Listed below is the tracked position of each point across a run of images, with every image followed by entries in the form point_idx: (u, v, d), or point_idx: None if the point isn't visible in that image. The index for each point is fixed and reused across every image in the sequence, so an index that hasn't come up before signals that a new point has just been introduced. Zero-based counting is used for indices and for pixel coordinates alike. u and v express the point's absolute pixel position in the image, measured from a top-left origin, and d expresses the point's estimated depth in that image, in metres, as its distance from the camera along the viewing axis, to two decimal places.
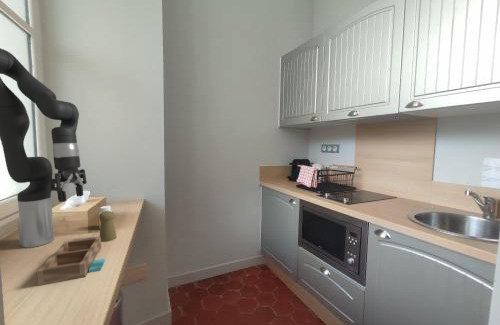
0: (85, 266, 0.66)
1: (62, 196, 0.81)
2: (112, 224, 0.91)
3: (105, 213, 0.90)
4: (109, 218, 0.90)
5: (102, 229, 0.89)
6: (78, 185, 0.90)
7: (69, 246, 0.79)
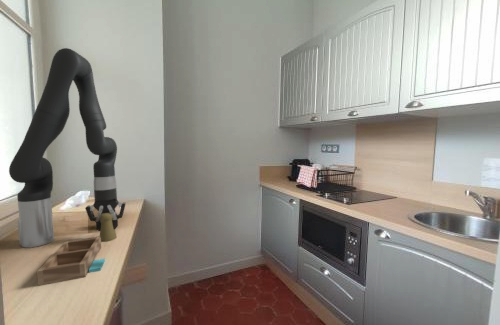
0: (85, 266, 0.66)
1: None
2: (112, 224, 0.91)
3: (105, 213, 0.90)
4: (109, 218, 0.90)
5: (102, 229, 0.89)
6: (99, 219, 0.90)
7: (69, 246, 0.79)
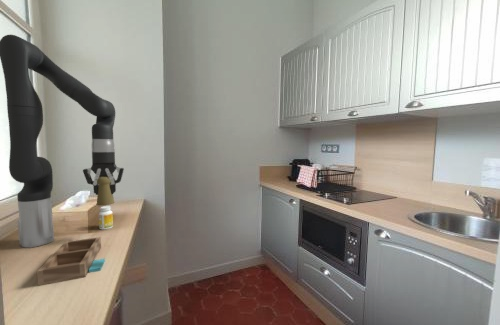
0: (85, 266, 0.66)
1: None
2: (110, 188, 0.90)
3: (103, 177, 0.88)
4: (107, 182, 0.89)
5: (99, 193, 0.88)
6: None
7: (69, 246, 0.79)
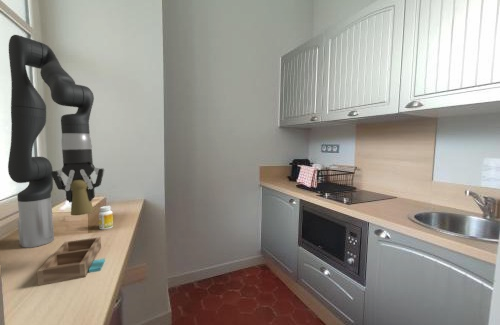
0: (85, 266, 0.66)
1: None
2: (87, 194, 0.74)
3: (77, 180, 0.72)
4: (83, 186, 0.72)
5: (74, 200, 0.71)
6: (70, 188, 0.72)
7: (69, 246, 0.79)
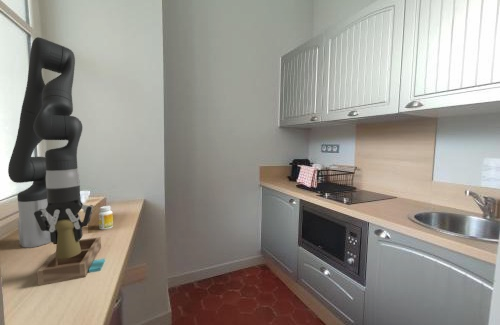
0: (85, 266, 0.66)
1: None
2: (74, 235, 0.67)
3: (63, 220, 0.66)
4: (69, 227, 0.66)
5: (59, 242, 0.65)
6: None
7: None
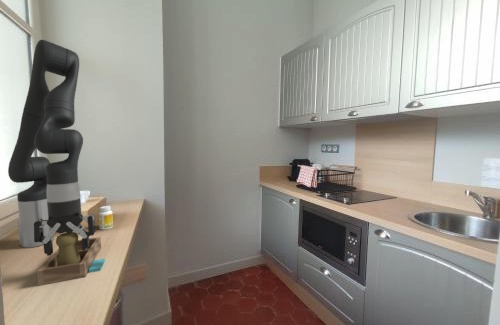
0: (85, 266, 0.66)
1: None
2: (75, 250, 0.68)
3: (64, 236, 0.66)
4: (70, 243, 0.66)
5: (60, 258, 0.66)
6: (49, 240, 0.66)
7: None
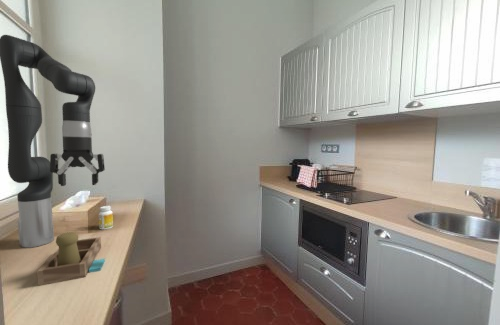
0: (85, 266, 0.66)
1: None
2: (75, 250, 0.68)
3: (64, 236, 0.66)
4: (70, 243, 0.66)
5: (60, 258, 0.66)
6: (63, 172, 0.73)
7: None
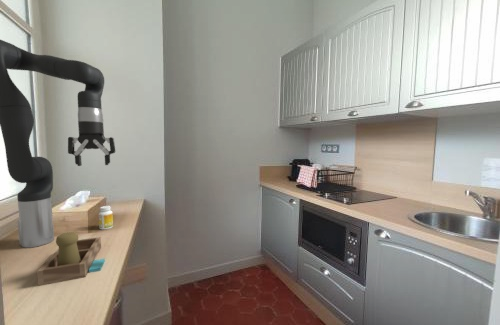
0: (85, 266, 0.66)
1: None
2: (75, 250, 0.68)
3: (64, 236, 0.66)
4: (70, 243, 0.66)
5: (60, 258, 0.66)
6: (79, 154, 0.83)
7: None
